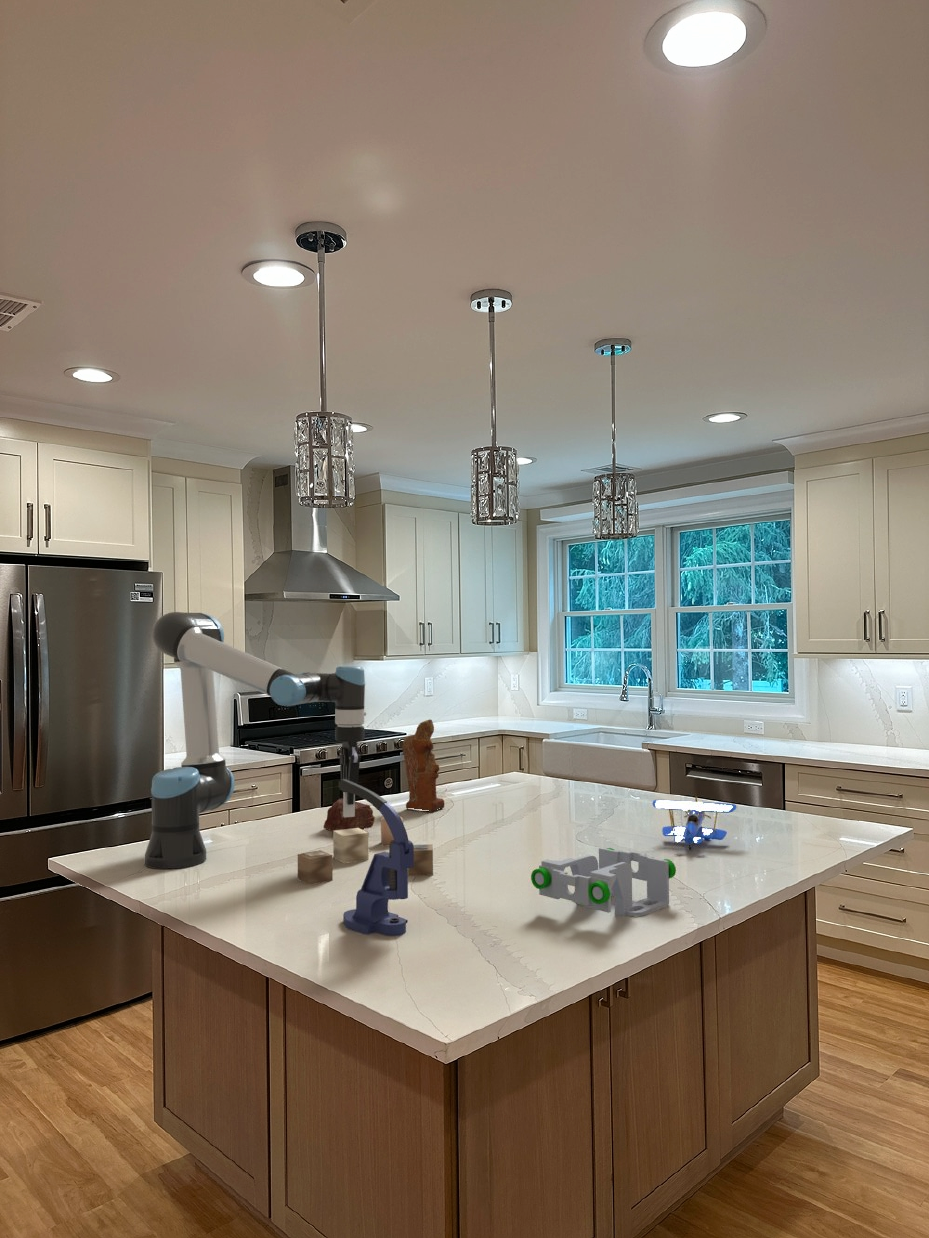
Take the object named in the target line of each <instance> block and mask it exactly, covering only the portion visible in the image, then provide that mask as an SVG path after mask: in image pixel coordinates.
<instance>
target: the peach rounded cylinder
mask: <svg viewBox="0 0 929 1238" xmlns="http://www.w3.org/2000/svg"><path fill="white" fill-rule="evenodd" d="M400 818H401V820H402V822H403V816H400ZM403 823H404V822H403ZM391 840H394V838H393V836H392V833H391V831H390V828H389V826H388V824H387V822H386V820H385V819H384V817H383V816H382V817H380V844H381V845H382V844H383V846H386V845H389V843H390V841H391Z"/></svg>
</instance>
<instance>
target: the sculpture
mask: <svg viewBox="0 0 929 1238" xmlns="http://www.w3.org/2000/svg"><path fill="white" fill-rule="evenodd" d="M434 732H435V725H434V721H433V720H432V719H426V720H424V721H422V722H420V723H419V724H418V726H417V728H416V731H415V733H414V734H410V735H408V736H406V738H405V739H403V741H402V742H401V750H402V755H403V758H404V765H405V770H406V776H407V787H408V792H409V794H408V795H409V798H408V799H409V800H407V802H406V804H405V809H406V808H414V809H422V810H429V811H433V812H435V811H434V810H436V811H438V810H440V809H439V808H442V809H444V808H445V800H444V799H443V798H439V797H437V784H436V783H437V782H436V781H437V779H438V778H439V775H440V774H439V771H440V765H439V764H437V762H436V756H435V754H434V753H433V752H432V751H433V750H434V743H433V741H432V740H431V738H432V735H433V733H434ZM437 809H438V810H437Z"/></svg>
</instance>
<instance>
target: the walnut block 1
mask: <svg viewBox="0 0 929 1238" xmlns="http://www.w3.org/2000/svg"><path fill="white" fill-rule="evenodd" d="M333 871H334V870H333V854H331V853H329V852H325V851H323V850H315V851H309V852H304V853H303V852H302V853H298V854H297V880H298V879H299V880H298V881H300V880H301V881H300V882H302V881H303V883H304V882H305V884H307V885H308V886H309V885H310V886H311V885H315V884H316V885H317V884H320V883H326V882H331V881H333V880H334V878H333V875H334V874H333Z"/></svg>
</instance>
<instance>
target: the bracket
mask: <svg viewBox="0 0 929 1238" xmlns="http://www.w3.org/2000/svg"><path fill="white" fill-rule="evenodd" d="M632 861H633V862H637V863H638V864H637V865H638V869H637V871H635V870H634V869H633V868H632ZM568 867H569V868H570V872H571V874H568V872H567V871H565V869H566V868H568ZM676 872H677V868H676V865H675V863H674V862H673V861H672V860H671V859H668V858H664V859H659V858H655V857H654V856H649V855H647V854H646V853H641V852H635V851H632V850H630V851H629V850H628V851H624V850H619V849H617V850H615V849H614V848H613V847H612V848H611V847H607V848H604V847H600V848H599V847H598V858H597V857H596V856H595V855H591V854H588V855H584V856H581V857H580V856H579V857H578V858H571V857H569V858H565V859H562V860H554V859H553V860H552V859H548V858H547V859H545V860H542V861H541V864H540V865H538V868H535V869H534V870H532V872H531V875H530V880H531V883H532V885H533V886H534V887H535V888H536V889H538V891H539V894H538V895H540V896H543V897H546V898H551V899H555V900H560V899H563V900H566V901H569V902H570V901H571V902H573V903H576V904H577V905H580V906H583V907H584V906H587V908H589V909H593V910H595V911H596V910H598V911H601V912H604V913H607V914H609V913H611V912H612V903H611V902H612V897H613V896H614V914H615V915H618V916H623V917H624V916H628V917H642V916H646V915H648V914H650V913H653V912H656V911H658V910H660V909H662V908H666V907H668V906H670V881H669V880H670V879H672V878H673V877H675V875H676ZM633 879H635V880H639V881H644V882H646V897H645V898H642V899H640V900H637V901H634V902H633ZM569 886H571V887H574V892H571V891H570V889H569Z"/></svg>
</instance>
